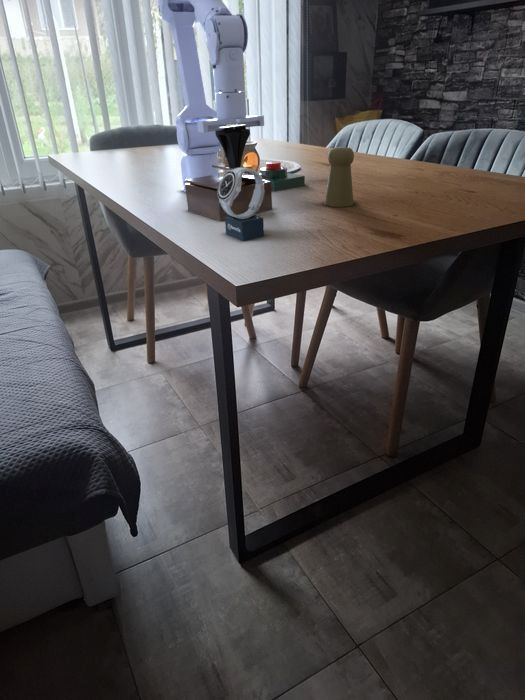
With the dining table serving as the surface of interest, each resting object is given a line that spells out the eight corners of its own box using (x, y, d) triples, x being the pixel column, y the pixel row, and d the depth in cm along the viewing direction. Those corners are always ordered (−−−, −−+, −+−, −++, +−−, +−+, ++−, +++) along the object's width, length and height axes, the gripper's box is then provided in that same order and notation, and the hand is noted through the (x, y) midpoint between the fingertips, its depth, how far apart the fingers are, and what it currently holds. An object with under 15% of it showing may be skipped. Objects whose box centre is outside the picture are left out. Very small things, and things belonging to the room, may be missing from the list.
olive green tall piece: (352, 207, 98) (356, 149, 93) (323, 206, 100) (324, 149, 94) (354, 200, 104) (357, 145, 98) (325, 200, 105) (327, 145, 99)
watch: (216, 236, 84) (210, 169, 79) (254, 227, 88) (251, 163, 82) (233, 243, 80) (228, 173, 75) (272, 234, 84) (270, 167, 78)
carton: (237, 200, 108) (235, 170, 105) (272, 209, 100) (271, 177, 97) (187, 211, 101) (184, 179, 98) (220, 221, 93) (217, 187, 90)
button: (263, 170, 120) (263, 162, 119) (274, 168, 122) (274, 160, 121) (272, 171, 118) (272, 164, 117) (283, 169, 120) (283, 162, 119)
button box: (243, 185, 123) (242, 168, 121) (273, 179, 128) (273, 163, 126) (274, 191, 115) (273, 173, 113) (304, 185, 120) (304, 168, 118)
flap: (235, 172, 105) (236, 170, 105) (270, 179, 97) (271, 177, 97) (211, 167, 101) (212, 165, 101) (246, 173, 93) (246, 171, 92)
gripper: (209, 94, 84) (216, 175, 91) (273, 90, 92) (275, 165, 99) (188, 94, 89) (196, 171, 96) (250, 90, 97) (253, 162, 104)
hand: (234, 168), depth 98 cm, fingers closed
